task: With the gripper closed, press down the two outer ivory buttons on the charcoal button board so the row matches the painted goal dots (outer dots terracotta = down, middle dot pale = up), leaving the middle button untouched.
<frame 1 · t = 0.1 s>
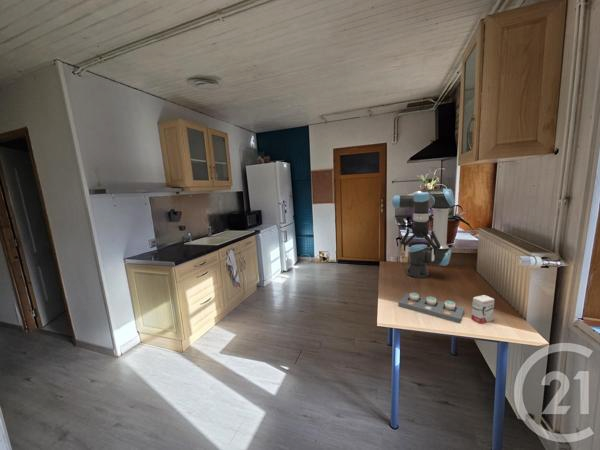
hand: (419, 258, 135), 28 cm above the table, fingers open, 13 cm apart
button a: (414, 296, 142), point 4 cm above the table, slide at 0.0 cm
button b: (431, 300, 136), point 4 cm above the table, slide at 0.0 cm
board: (430, 308, 135), on the table
button c: (449, 305, 130), point 4 cm above the table, slide at 0.0 cm
ink box: (481, 320, 122), on the table
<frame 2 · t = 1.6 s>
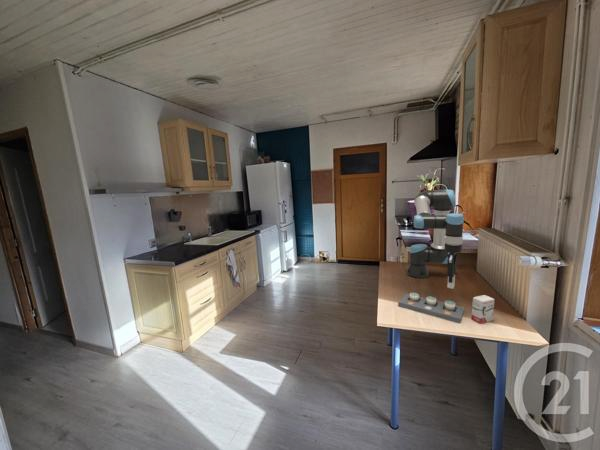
hand: (450, 286, 128), 14 cm above the table, fingers open, 2 cm apart
nothing on the table moved.
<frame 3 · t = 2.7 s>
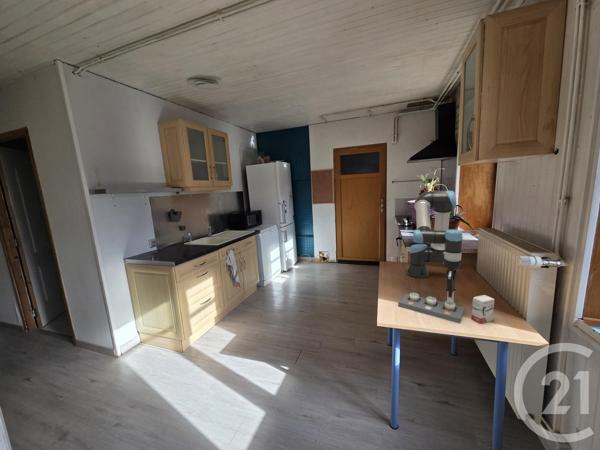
hand: (450, 302, 129), 6 cm above the table, fingers closed
button c: (449, 305, 130), point 4 cm above the table, slide at 0.1 cm, touching gripper
everything else where it was.
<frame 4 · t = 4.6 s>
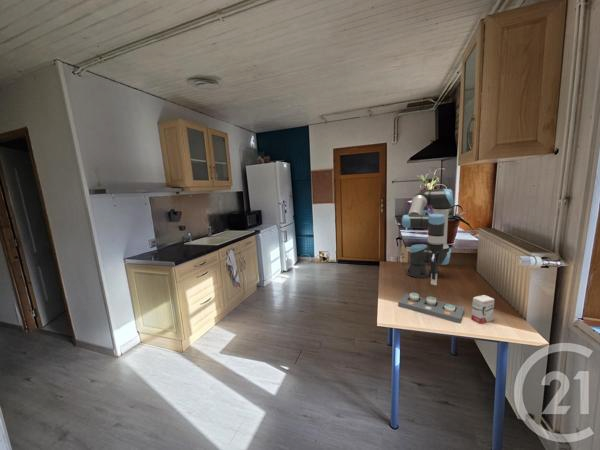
hand: (433, 284, 134), 14 cm above the table, fingers closed
button c: (449, 308, 130), point 2 cm above the table, slide at 2.1 cm
everything else where it was.
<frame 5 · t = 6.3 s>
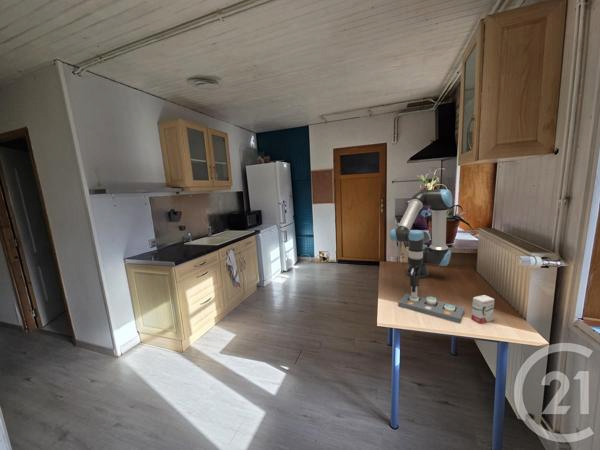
hand: (414, 296, 141), 4 cm above the table, fingers closed
button a: (414, 299, 142), point 2 cm above the table, slide at 1.9 cm, touching gripper
everything else where it was.
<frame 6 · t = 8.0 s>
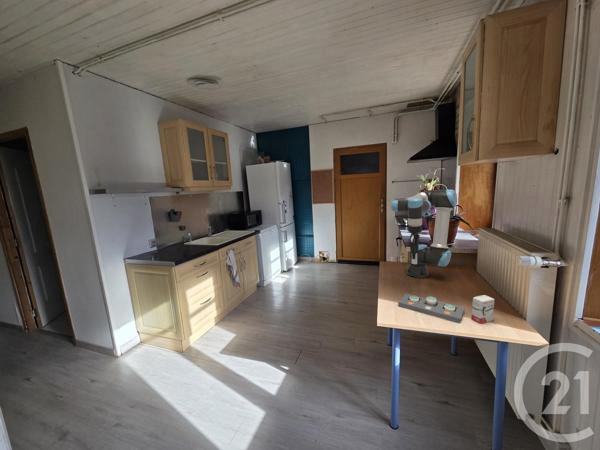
hand: (414, 263, 146), 22 cm above the table, fingers closed
button a: (414, 299, 142), point 2 cm above the table, slide at 2.1 cm
everything else where it was.
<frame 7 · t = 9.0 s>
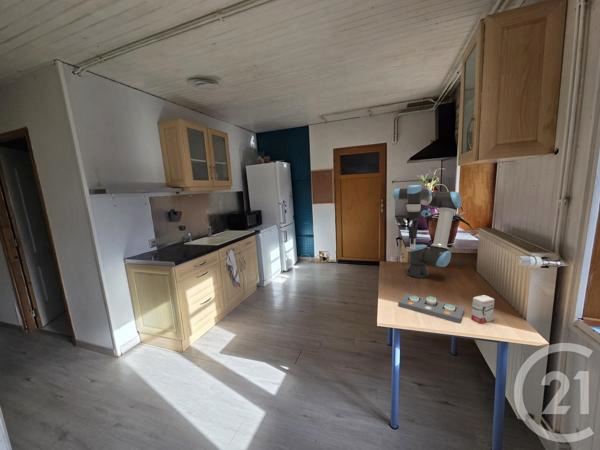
hand: (412, 248, 150), 29 cm above the table, fingers closed
nothing on the table moved.
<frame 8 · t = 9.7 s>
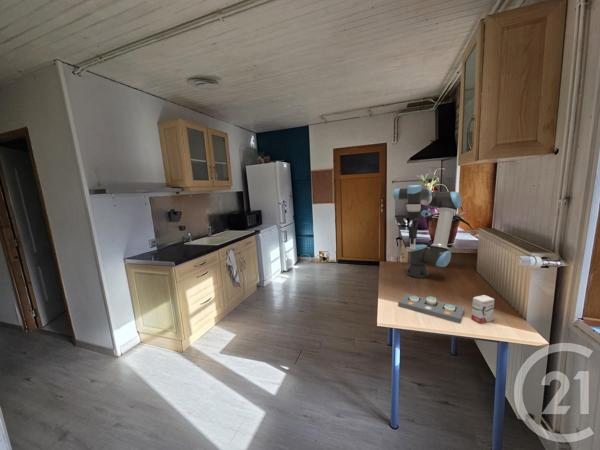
hand: (412, 248, 150), 29 cm above the table, fingers closed
nothing on the table moved.
at the end: button a slide at 2.1 cm; button c slide at 2.1 cm; button b slide at 0.0 cm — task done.
